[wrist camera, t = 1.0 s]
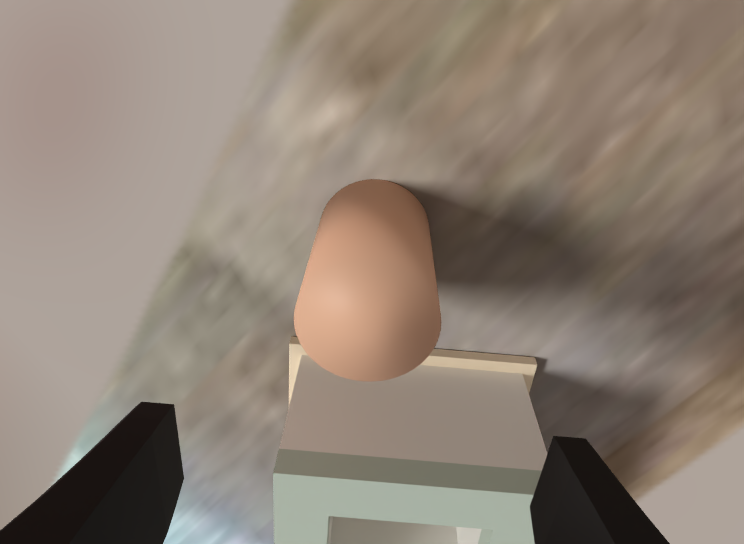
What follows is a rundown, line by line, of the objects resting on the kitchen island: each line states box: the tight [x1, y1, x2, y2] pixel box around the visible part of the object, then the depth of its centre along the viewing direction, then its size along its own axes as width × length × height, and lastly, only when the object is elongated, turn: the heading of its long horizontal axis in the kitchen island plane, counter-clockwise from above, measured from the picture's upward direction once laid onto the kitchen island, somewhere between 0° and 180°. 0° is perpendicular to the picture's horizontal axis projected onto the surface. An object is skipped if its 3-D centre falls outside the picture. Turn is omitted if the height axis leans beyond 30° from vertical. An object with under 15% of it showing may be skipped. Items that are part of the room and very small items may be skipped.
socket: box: [273, 337, 547, 544], centre depth 22 cm, size 10×10×6 cm
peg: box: [294, 179, 441, 382], centre depth 18 cm, size 4×4×6 cm
